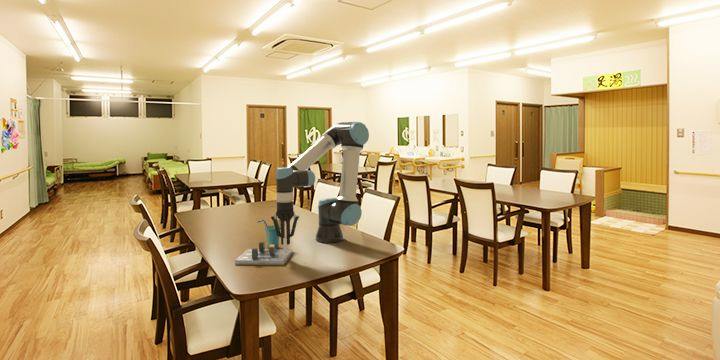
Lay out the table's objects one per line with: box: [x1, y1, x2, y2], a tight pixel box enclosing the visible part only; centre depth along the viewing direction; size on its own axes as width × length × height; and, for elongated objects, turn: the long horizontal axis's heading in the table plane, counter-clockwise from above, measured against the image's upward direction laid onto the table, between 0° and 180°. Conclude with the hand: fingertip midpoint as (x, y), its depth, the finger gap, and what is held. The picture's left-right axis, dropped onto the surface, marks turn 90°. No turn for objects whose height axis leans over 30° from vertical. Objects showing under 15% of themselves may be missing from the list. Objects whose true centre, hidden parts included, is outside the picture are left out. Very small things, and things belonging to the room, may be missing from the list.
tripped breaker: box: [268, 245, 276, 255], centre depth 186 cm, size 2×2×4 cm
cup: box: [256, 219, 281, 249], centre depth 204 cm, size 14×8×15 cm, turn 112°
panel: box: [234, 241, 293, 266], centre depth 186 cm, size 22×18×6 cm
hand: (285, 251), depth 185 cm, fingers closed
